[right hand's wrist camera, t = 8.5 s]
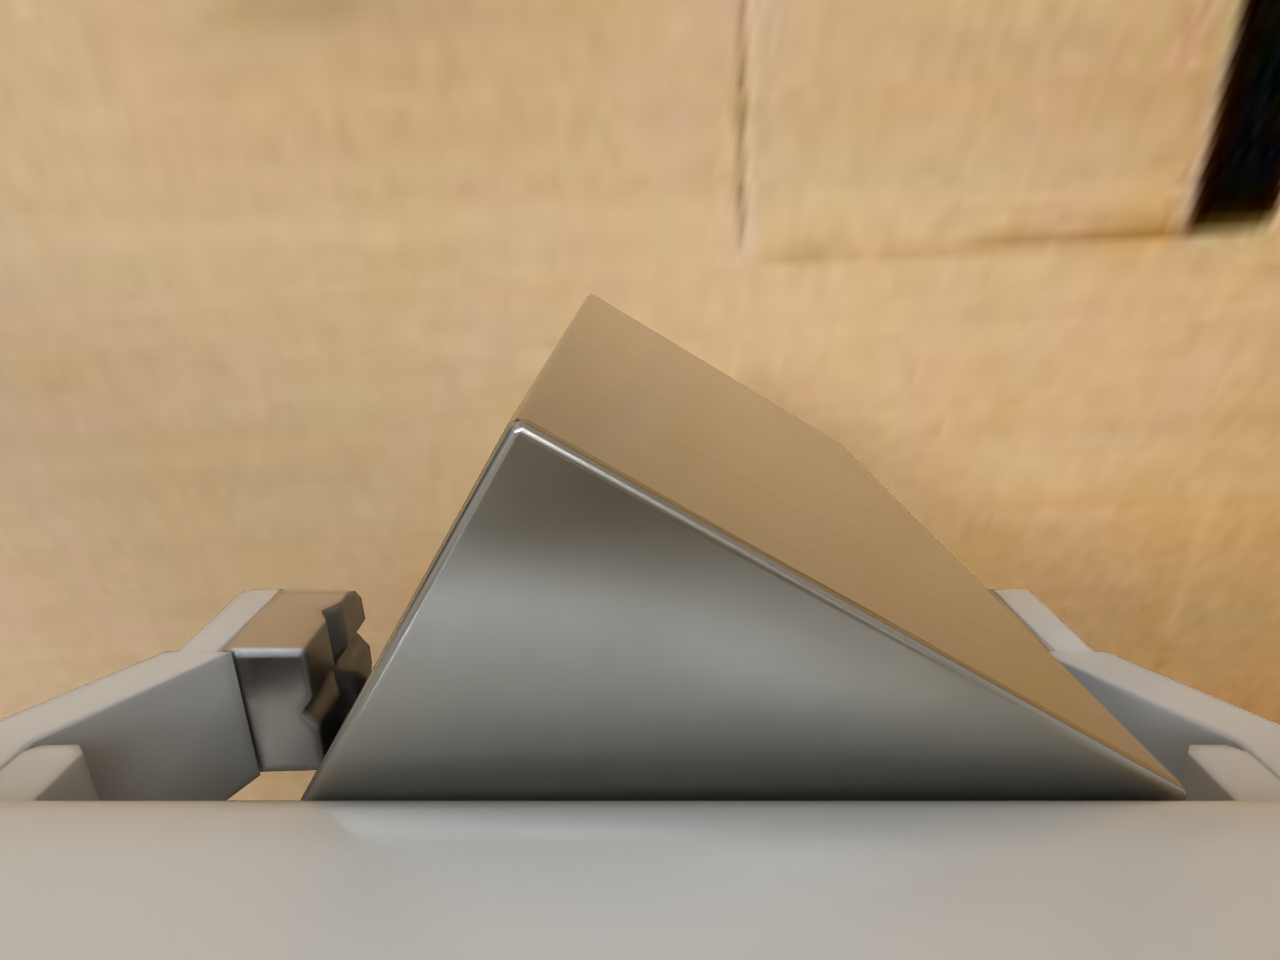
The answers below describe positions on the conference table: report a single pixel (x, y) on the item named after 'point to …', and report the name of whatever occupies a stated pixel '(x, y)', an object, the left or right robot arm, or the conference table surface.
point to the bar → (707, 622)
